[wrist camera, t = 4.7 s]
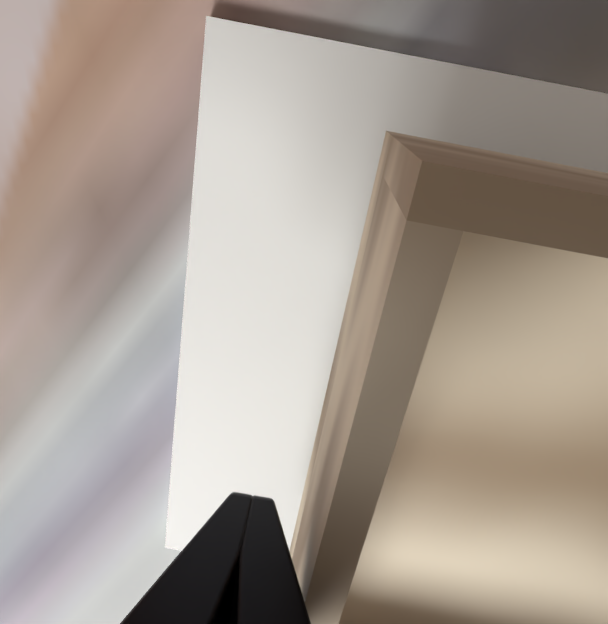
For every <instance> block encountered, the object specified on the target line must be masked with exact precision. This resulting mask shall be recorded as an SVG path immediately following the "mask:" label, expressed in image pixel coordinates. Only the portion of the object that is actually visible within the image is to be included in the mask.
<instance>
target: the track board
mask: <svg viewBox="0 0 608 624" xmlns="http://www.w3.org/2000/svg"><path fill="white" fill-rule="evenodd" d="M386 131H390V132H395V133H401V134H406V135H411V136H416V137H422V138H427V139H432V140H437V141H443V142H448V143H453V144H458V145H463V146H469V147H474V148H479V149H484V150H490V151H495V152H500V153H505V154H511V155H516V156H521V157H526V158H531V159H537V160H542V161H547V162H552V163H558V164H563V165H568V166H573V167H579V168H584V169H589V170H594V171H600V172H605V173H608V93H603V92H597V91H592V90H587V89H582V88H577V87H572V86H566V85H561V84H556V83H551V82H546V81H541V80H535V79H530V78H525V77H520V76H515V75H510V74H504V73H499V72H494V71H489V70H484V69H479V68H473V67H468V66H463V65H458V64H453V63H448V62H442V61H437V60H432V59H427V58H422V57H416V56H411V55H406V54H401V53H396V52H391V51H385V50H380V49H375V48H370V47H365V46H360V45H354V44H349V43H344V42H339V41H334V40H329V39H323V38H318V37H313V36H308V35H303V34H298V33H292V32H287V31H282V30H277V29H272V28H267V27H261V26H256V25H251V24H246V23H241V22H235V21H230V20H225V19H220V18H215V17H210V16H206V26H205V38H204V51H203V64H202V77H201V90H200V102H199V115H198V128H197V141H196V154H195V167H194V179H193V192H192V205H191V218H190V231H189V243H188V256H187V269H186V282H185V295H184V308H183V320H182V333H181V346H180V359H179V372H178V384H177V397H176V410H175V423H174V436H173V448H172V461H171V474H170V487H169V500H168V513H167V525H166V538H165V548H169V549H175V550H180V551H182V550H183V549H184V548H185V546H186V545H187V544H188V543H189V542H190V541H191V539H192V538H193V537H194V536H195V535H196V533H197V532H198V531H199V530H200V529H201V528H202V526H203V525H204V524H205V523H206V522H207V520H208V519H209V518H210V517H211V516H212V515H213V513H214V512H215V511H216V510H217V509H218V507H219V506H220V505H221V504H222V503H223V502H224V500H225V499H226V498H227V497H228V496H229V495H230V494H231V493H232V492H239V493H245V494H250V495H252V496H254V495H256V496H262V497H268V498H272V499H273V500H274V502H275V505H276V508H277V512H278V515H279V518H280V522H281V525H282V528H283V532H284V535H285V538H286V542H287V545H288V548H289V551H290V546H291V542H292V538H293V533H294V529H295V524H296V520H297V516H298V511H299V507H300V503H301V498H302V494H303V490H304V485H305V481H306V477H307V472H308V468H309V464H310V459H311V455H312V451H313V446H314V442H315V438H316V433H317V429H318V424H319V420H320V416H321V411H322V407H323V403H324V398H325V394H326V390H327V385H328V381H329V377H330V372H331V368H332V364H333V359H334V355H335V351H336V346H337V342H338V338H339V333H340V329H341V325H342V320H343V316H344V311H345V307H346V303H347V298H348V294H349V290H350V285H351V281H352V277H353V272H354V268H355V264H356V259H357V255H358V251H359V246H360V242H361V238H362V233H363V229H364V225H365V220H366V216H367V211H368V207H369V203H370V198H371V194H372V190H373V185H374V181H375V177H376V172H377V168H378V164H379V159H380V155H381V151H382V146H383V142H384V138H385V133H386Z"/></svg>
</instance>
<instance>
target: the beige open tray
mask: <svg viewBox="0 0 608 624" xmlns="http://www.w3.org/2000/svg"><path fill="white" fill-rule="evenodd" d="M289 552H290V555H291V558H292V562H293V565H294V568H295V572H296V575H297V578H298V582H299V585H300V588H301V591H302V595H303V598H304V601H305V605H306V608H307V611H308V615H309V618H310V621H311V624H608V173H605V172H600V171H594V170H589V169H584V168H579V167H573V166H568V165H563V164H558V163H552V162H547V161H542V160H537V159H531V158H526V157H521V156H516V155H511V154H505V153H500V152H495V151H490V150H484V149H479V148H474V147H469V146H463V145H458V144H453V143H448V142H443V141H437V140H432V139H427V138H422V137H416V136H411V135H406V134H401V133H395V132H390V131H386V133H385V138H384V142H383V146H382V151H381V155H380V159H379V164H378V168H377V172H376V177H375V181H374V185H373V190H372V194H371V198H370V203H369V207H368V211H367V216H366V220H365V225H364V229H363V233H362V238H361V242H360V246H359V251H358V255H357V259H356V264H355V268H354V272H353V277H352V281H351V285H350V290H349V294H348V298H347V303H346V307H345V311H344V316H343V320H342V325H341V329H340V333H339V338H338V342H337V346H336V351H335V355H334V359H333V364H332V368H331V372H330V377H329V381H328V385H327V390H326V394H325V398H324V403H323V407H322V411H321V416H320V420H319V424H318V429H317V433H316V438H315V442H314V446H313V451H312V455H311V459H310V464H309V468H308V472H307V477H306V481H305V485H304V490H303V494H302V498H301V503H300V507H299V511H298V516H297V520H296V524H295V529H294V533H293V538H292V542H291V546H290V551H289Z"/></svg>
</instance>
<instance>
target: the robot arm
mask: <svg viewBox="0 0 608 624" xmlns="http://www.w3.org/2000/svg"><path fill="white" fill-rule="evenodd" d="M120 624H311V621H310V618H309V615H308V611H307V608H306V605H305V601H304V598H303V595H302V591H301V588H300V585H299V582H298V578H297V575H296V572H295V568H294V565H293V562H292V558H291V555H290V552H289V548H288V545H287V542H286V538H285V535H284V532H283V528H282V525H281V522H280V518H279V515H278V512H277V508H276V505H275V502H274V500H273V499H272V498H268V497H262V496H256V495H254V496H252V495H250V494H245V493H239V492H232V493H231V494H230V495H229V496H228V497H227V498H226V499H225V500H224V502H223V503H222V504H221V505H220V506H219V507H218V509H217V510H216V511H215V512H214V513H213V515H212V516H211V517H210V518H209V519H208V520H207V522H206V523H205V524H204V525H203V526H202V528H201V529H200V530H199V531H198V532H197V533H196V535H195V536H194V537H193V538H192V539H191V541H190V542H189V543H188V544H187V545H186V546H185V548H184V549H183V550H182V551H181V552H180V554H179V555H178V556H177V557H176V558H175V559H174V561H173V562H172V563H171V564H170V565H169V566H168V568H167V569H166V570H165V571H164V572H163V574H162V575H161V576H160V577H159V578H158V579H157V581H156V582H155V583H154V584H153V585H152V587H151V588H150V589H149V590H148V591H147V592H146V594H145V595H144V596H143V597H142V598H141V600H140V601H139V602H138V603H137V604H136V605H135V607H134V608H133V609H132V610H131V611H130V613H129V614H128V615H127V616H126V617H125V618H124V620H123V621H122V622H121V623H120Z"/></svg>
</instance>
